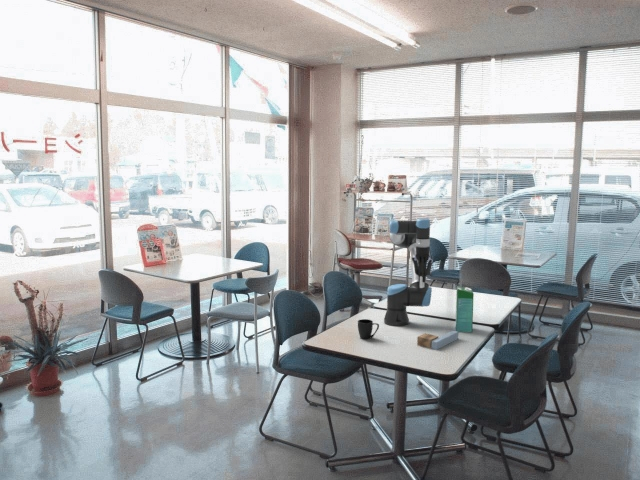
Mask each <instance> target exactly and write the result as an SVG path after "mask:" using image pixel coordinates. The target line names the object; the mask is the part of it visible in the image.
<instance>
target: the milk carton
mask: <svg viewBox="0 0 640 480" xmlns="http://www.w3.org/2000/svg"><path fill="white" fill-rule="evenodd" d="M474 295H475V294H474V291H473V289H472V288H469V287H462V286H459V285H456V294H455V296H456V297H455V299H456V301H455V303H456V304H455V331H457V332H462V333H463V332H464V333H465V332H466V333H473V326H474V323H473V321H474V320H473V318H474V297H475V296H474Z"/></svg>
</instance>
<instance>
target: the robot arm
mask: <svg viewBox="0 0 640 480" xmlns="http://www.w3.org/2000/svg"><path fill="white" fill-rule="evenodd" d="M430 233H431V220H430V219H429V218H417V219H416V220H391V221H389V241H390V242H391V244H393V245H394V246H396V247H399V248H407V249H408V251H409V252H410V259H411V260H410V262H411V265H410V266H411V283H409V286H407V284H405V283H397V284H392V285H389V286H388V287H387V293H386V296H387V297H386V299H387V301H386V313H385V315H384V317H383V322H384V324H385V325H389V326H395V327H402V326H408V325H409V324H410V318H409V315H408V312H407V307H429V306H430V305H431V299H432V291H433V290H432V289H433V288H432V287H431V286H430V285H429V283H428V282H427V276H430V274H431V273H430V272H431V269H432V268H431V267H432V264H433V262H434V259H433V258H431V256H430V251H431V249H430V245H431V244H430V242H431V241H430V240H431V239H430V238H431V237H430Z"/></svg>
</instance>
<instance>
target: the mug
mask: <svg viewBox="0 0 640 480" xmlns="http://www.w3.org/2000/svg"><path fill="white" fill-rule="evenodd" d="M373 325H376V326H377V327H376V329H375V332H374V333H373V334H372V332H373ZM379 327H380V324H379V323H376V322H375V323H374V322H373V320H371V319H368V318H367V319H366V318H365V319H364V318H363V319H359V320H357V330H358V331H357V332H358V335H359V338H360V339H361V340H370V339H372V338H374V336H375V335H376V333H377V332H378V330H379Z"/></svg>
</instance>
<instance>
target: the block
mask: <svg viewBox="0 0 640 480" xmlns="http://www.w3.org/2000/svg"><path fill="white" fill-rule="evenodd" d="M416 338H417V340H416V343H417V344H416V346H417V347H418V346H419V347H422V348H426V349H431V343H432V341H433V340H435V339H437V338H439V335H435V334H430V333H422V334H420V335H418V336H417V337H416Z"/></svg>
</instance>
